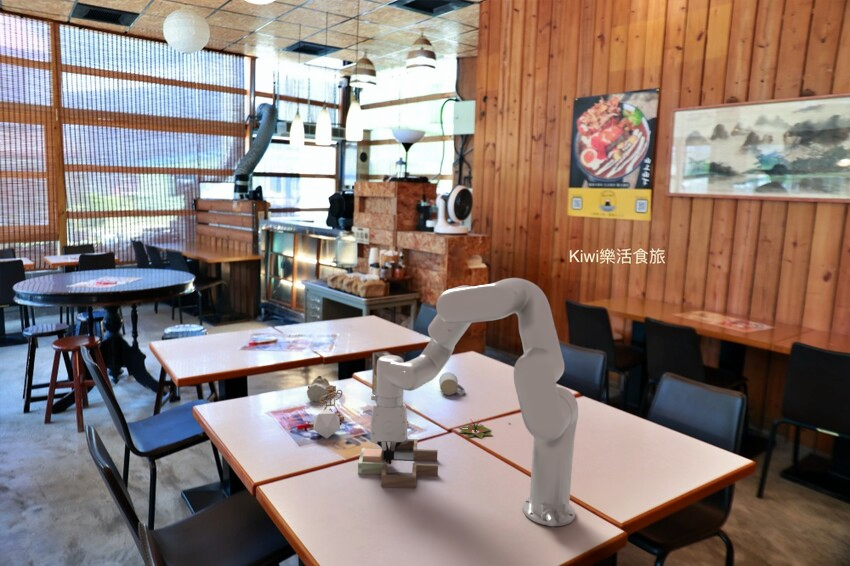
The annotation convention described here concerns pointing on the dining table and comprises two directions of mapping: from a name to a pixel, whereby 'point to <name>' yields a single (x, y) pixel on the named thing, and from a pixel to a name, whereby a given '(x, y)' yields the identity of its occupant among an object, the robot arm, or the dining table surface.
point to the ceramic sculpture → (318, 389)
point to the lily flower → (475, 427)
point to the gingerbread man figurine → (331, 399)
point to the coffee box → (374, 377)
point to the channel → (402, 453)
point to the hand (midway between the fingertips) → (388, 461)
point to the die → (326, 423)
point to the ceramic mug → (450, 384)
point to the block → (372, 455)
